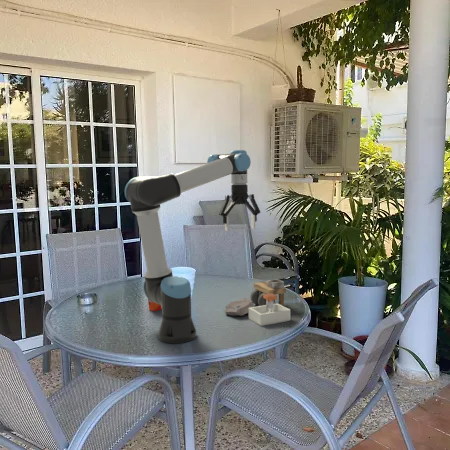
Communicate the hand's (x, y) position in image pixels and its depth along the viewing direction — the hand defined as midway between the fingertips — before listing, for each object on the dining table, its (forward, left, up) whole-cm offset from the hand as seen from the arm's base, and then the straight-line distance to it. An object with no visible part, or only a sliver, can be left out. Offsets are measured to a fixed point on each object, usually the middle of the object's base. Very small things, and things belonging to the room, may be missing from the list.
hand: (240, 229), depth 207 cm
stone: (-4, -6, -39) cm, 39 cm away
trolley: (+13, -2, -39) cm, 41 cm away
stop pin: (+5, -19, -38) cm, 43 cm away
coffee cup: (-37, +20, -39) cm, 57 cm away
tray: (+4, -19, -38) cm, 43 cm away
